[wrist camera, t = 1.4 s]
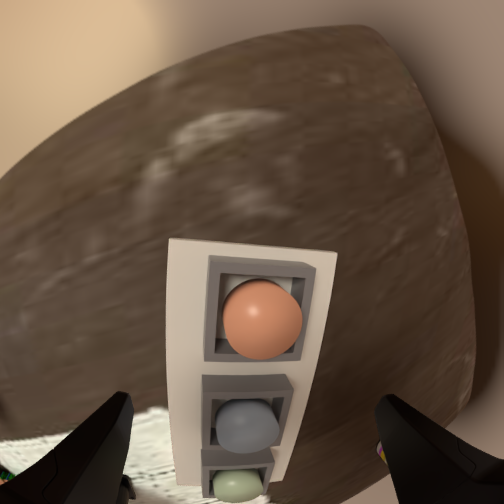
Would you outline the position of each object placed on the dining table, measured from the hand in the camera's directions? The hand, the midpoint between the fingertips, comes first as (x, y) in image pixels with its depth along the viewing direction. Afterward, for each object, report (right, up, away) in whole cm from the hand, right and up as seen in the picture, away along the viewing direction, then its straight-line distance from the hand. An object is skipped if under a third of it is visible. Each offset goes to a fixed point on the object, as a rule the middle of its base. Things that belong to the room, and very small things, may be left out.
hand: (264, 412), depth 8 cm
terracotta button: (0, +1, +11) cm, 11 cm away
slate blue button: (-1, -9, +13) cm, 15 cm away
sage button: (-2, -19, +14) cm, 23 cm away
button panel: (-2, -8, +15) cm, 17 cm away
